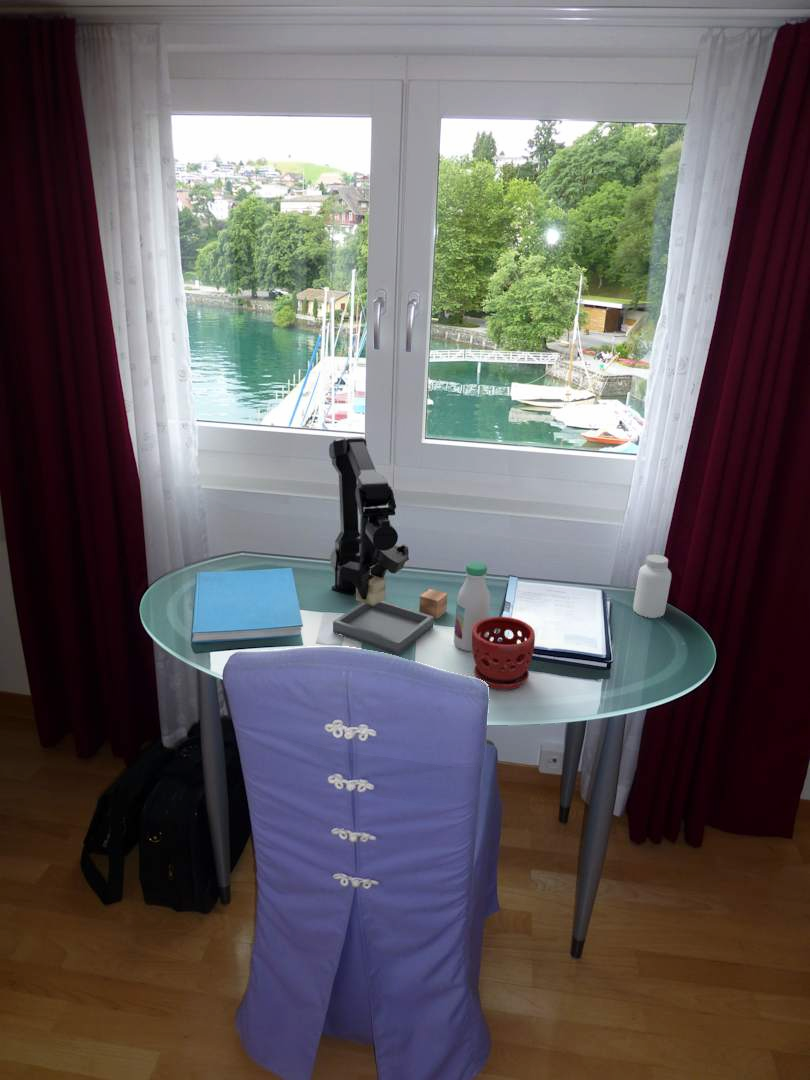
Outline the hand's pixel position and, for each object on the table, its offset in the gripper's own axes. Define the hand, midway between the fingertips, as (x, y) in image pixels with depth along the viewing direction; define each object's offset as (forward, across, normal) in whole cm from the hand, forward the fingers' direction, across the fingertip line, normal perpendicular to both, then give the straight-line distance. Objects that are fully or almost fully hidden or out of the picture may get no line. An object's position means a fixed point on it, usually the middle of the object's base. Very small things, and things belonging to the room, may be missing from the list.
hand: (370, 595), depth 192 cm
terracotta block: (+8, +15, -9) cm, 19 cm away
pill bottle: (+8, +48, -54) cm, 73 cm away
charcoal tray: (+8, 0, -4) cm, 9 cm away
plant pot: (+8, -4, -36) cm, 37 cm away
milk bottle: (+8, +6, -24) cm, 26 cm away
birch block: (+1, 0, 0) cm, 1 cm away
